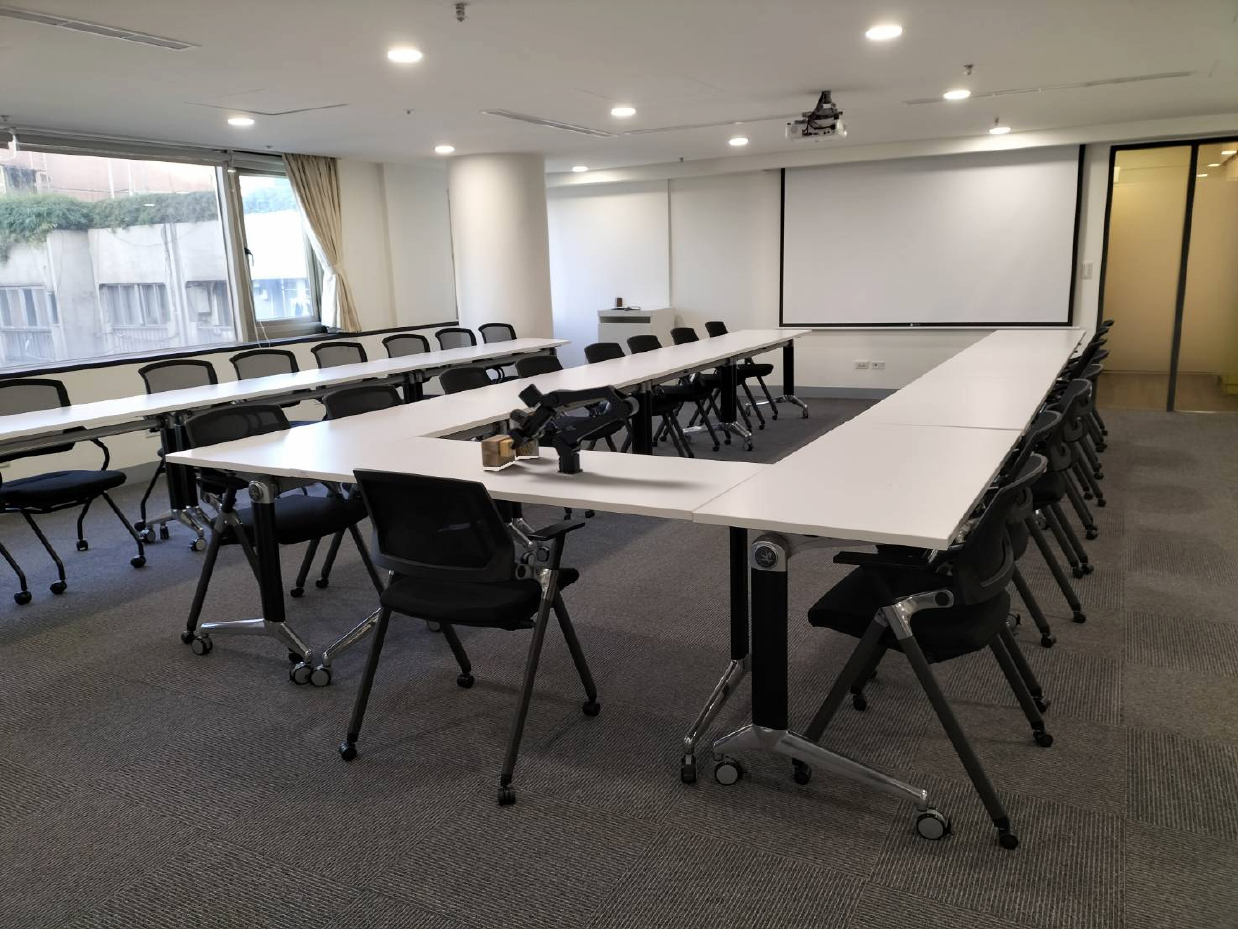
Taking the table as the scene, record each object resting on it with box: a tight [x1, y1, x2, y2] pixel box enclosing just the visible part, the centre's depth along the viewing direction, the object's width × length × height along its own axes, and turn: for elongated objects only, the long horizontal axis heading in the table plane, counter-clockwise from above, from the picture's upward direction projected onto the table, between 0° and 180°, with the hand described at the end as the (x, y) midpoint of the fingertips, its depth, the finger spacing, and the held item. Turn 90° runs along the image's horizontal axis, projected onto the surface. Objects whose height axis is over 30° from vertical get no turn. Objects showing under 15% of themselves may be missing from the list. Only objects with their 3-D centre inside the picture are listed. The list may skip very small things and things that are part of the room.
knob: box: [500, 440, 515, 457], centre depth 305 cm, size 7×5×5 cm
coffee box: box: [509, 413, 540, 457], centre depth 324 cm, size 9×6×16 cm
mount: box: [480, 434, 516, 467], centre depth 309 cm, size 7×13×10 cm, turn 160°
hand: (512, 449), depth 304 cm, fingers closed, pressing on knob
